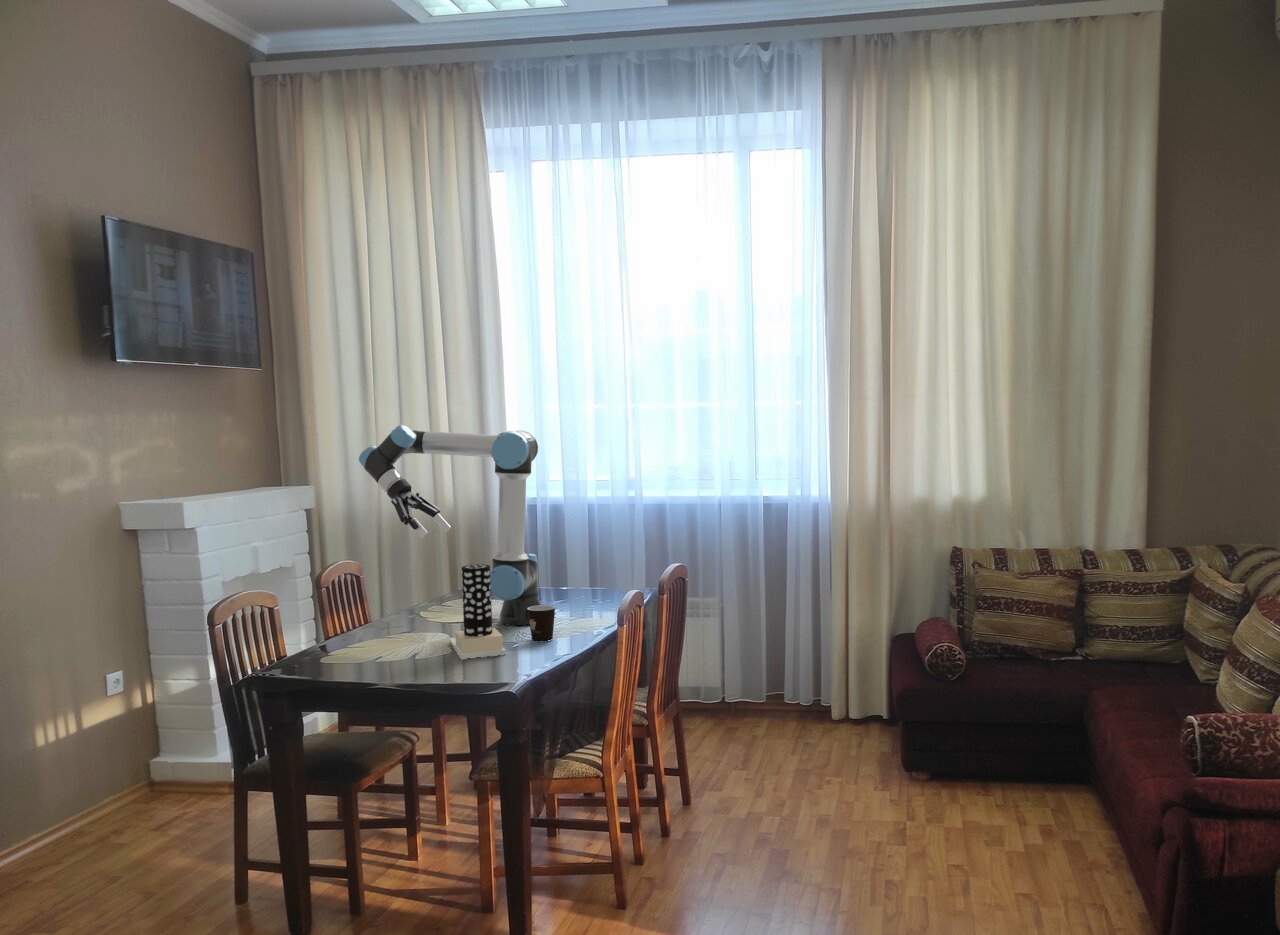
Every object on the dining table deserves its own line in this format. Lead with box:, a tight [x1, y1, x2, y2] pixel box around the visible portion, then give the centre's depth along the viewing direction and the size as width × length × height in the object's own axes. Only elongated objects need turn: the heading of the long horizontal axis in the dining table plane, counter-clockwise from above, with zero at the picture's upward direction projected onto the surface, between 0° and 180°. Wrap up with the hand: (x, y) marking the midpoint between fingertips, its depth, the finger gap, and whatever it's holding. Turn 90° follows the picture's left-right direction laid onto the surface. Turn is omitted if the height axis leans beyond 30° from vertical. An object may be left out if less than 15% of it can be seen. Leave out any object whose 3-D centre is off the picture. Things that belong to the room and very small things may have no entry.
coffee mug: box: [526, 604, 556, 643], centre depth 315 cm, size 12×9×10 cm
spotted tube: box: [461, 564, 493, 637], centre depth 299 cm, size 8×8×20 cm
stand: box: [449, 627, 506, 660], centre depth 304 cm, size 13×22×6 cm, turn 19°
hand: (436, 532), depth 325 cm, fingers open, 13 cm apart
